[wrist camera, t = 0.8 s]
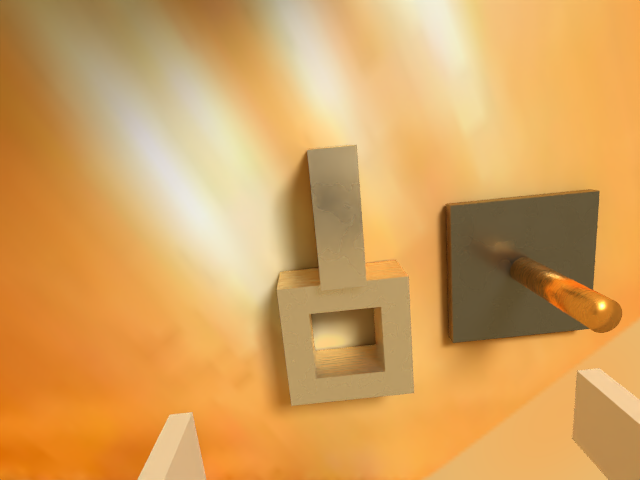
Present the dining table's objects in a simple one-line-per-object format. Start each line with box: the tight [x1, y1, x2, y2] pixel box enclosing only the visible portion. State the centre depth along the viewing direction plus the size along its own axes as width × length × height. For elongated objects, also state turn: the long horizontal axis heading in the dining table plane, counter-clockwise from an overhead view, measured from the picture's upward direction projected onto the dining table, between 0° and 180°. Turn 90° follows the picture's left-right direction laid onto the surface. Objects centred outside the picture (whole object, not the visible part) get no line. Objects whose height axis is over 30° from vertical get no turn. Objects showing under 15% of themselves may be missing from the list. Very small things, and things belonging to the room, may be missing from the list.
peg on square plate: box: [446, 190, 622, 343], centre depth 27 cm, size 11×11×10 cm
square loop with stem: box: [277, 145, 414, 406], centre depth 28 cm, size 18×9×5 cm, turn 6°
